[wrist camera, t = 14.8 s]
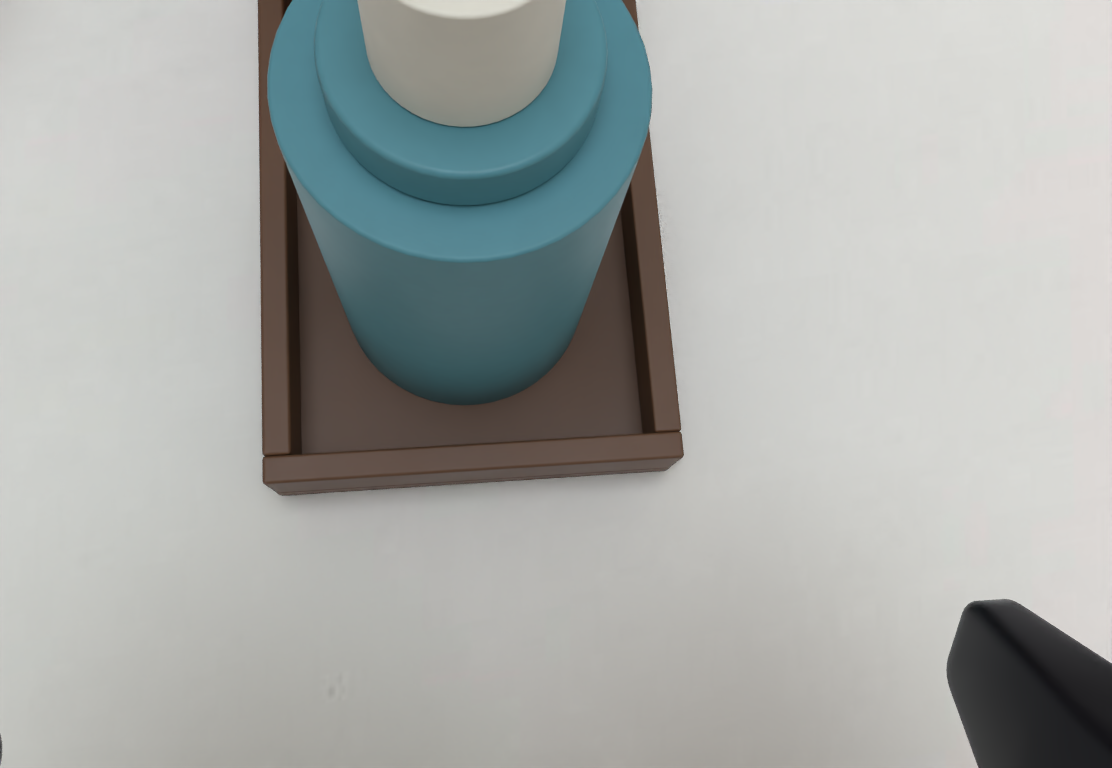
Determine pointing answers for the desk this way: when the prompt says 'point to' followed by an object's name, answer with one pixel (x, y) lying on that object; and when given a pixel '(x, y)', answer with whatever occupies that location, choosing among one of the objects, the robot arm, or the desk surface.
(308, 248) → the tray
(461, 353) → the teal bottle
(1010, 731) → the robot arm
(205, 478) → the desk surface
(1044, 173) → the desk surface
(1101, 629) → the desk surface
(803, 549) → the desk surface
